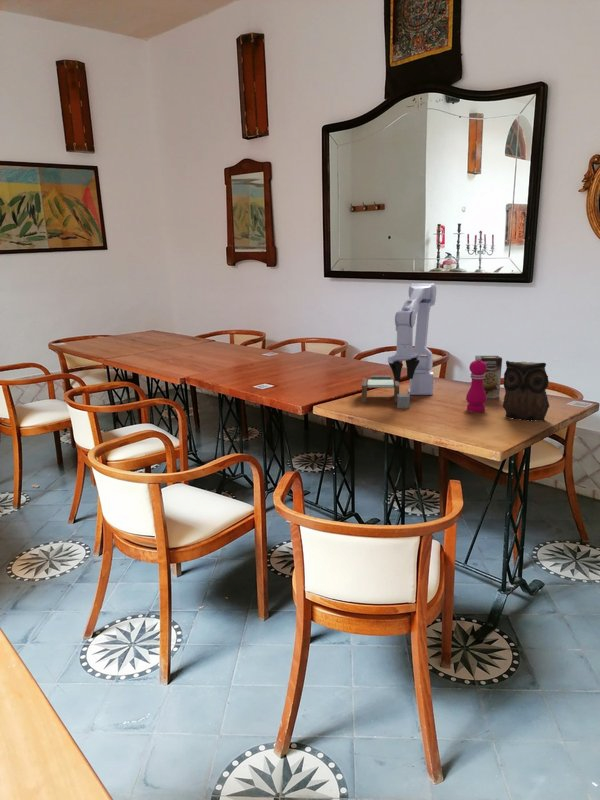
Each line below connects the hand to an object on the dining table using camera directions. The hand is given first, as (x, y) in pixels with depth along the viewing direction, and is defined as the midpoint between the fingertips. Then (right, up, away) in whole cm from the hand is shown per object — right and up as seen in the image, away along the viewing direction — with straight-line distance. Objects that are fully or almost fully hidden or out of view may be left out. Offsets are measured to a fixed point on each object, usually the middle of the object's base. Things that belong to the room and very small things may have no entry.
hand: (403, 379), depth 214 cm
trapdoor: (-7, -1, +13) cm, 15 cm away
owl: (+40, -13, -13) cm, 45 cm away
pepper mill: (+26, -11, -4) cm, 28 cm away
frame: (-7, -7, +14) cm, 17 cm away
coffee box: (+35, -6, +14) cm, 38 cm away
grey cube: (0, -10, +3) cm, 10 cm away
